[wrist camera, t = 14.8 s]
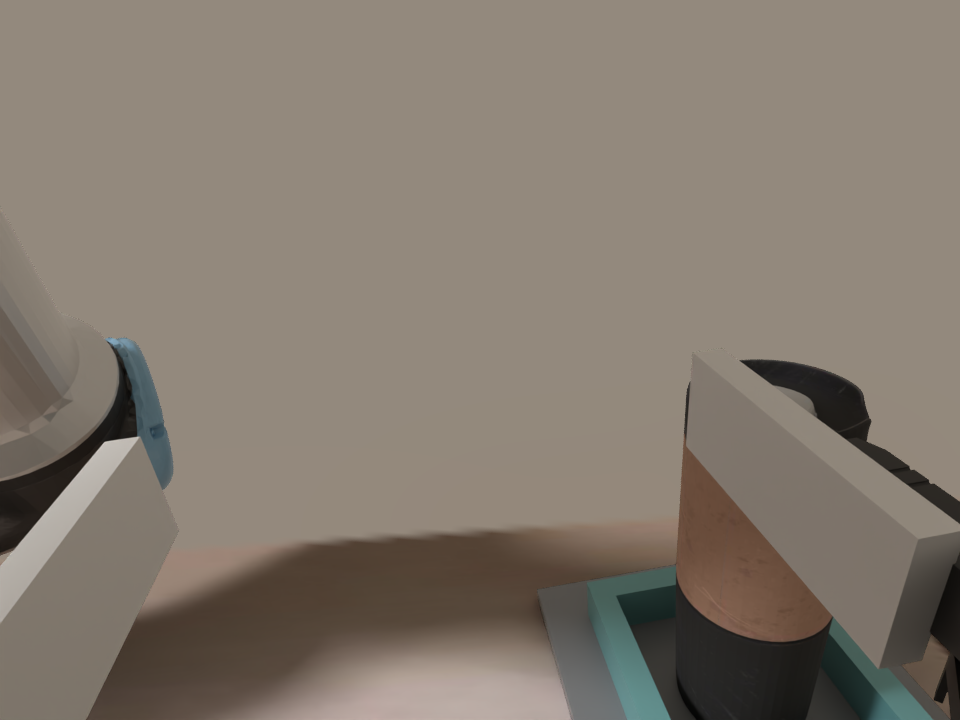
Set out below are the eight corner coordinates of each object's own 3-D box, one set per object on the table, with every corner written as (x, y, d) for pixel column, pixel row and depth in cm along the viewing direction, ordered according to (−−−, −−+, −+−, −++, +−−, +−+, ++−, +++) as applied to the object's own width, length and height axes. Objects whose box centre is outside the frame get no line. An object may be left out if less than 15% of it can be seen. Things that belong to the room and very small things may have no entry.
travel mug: (645, 661, 36) (650, 381, 28) (741, 617, 38) (772, 345, 30) (734, 781, 29) (776, 459, 21) (844, 719, 32) (920, 406, 23)
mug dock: (638, 958, 25) (639, 911, 23) (538, 599, 43) (534, 558, 41) (1061, 861, 26) (1089, 810, 24) (789, 553, 44) (795, 512, 43)
